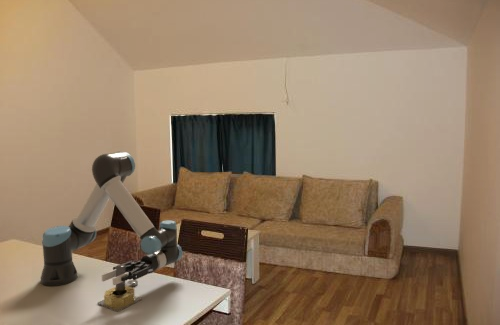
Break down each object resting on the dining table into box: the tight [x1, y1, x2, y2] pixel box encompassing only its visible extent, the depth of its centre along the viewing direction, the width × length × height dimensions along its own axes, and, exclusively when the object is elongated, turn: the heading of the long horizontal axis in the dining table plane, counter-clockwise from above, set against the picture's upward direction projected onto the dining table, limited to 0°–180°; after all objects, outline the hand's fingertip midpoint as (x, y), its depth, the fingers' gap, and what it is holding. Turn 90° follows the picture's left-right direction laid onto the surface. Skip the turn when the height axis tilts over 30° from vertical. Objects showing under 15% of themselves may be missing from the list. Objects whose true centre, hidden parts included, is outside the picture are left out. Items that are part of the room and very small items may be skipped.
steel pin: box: [115, 264, 127, 295], centre depth 159 cm, size 4×4×14 cm
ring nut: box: [97, 286, 143, 313], centre depth 160 cm, size 12×12×4 cm
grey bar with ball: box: [125, 279, 139, 288], centre depth 173 cm, size 14×4×1 cm, turn 147°
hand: (107, 279), depth 155 cm, fingers open, 6 cm apart
